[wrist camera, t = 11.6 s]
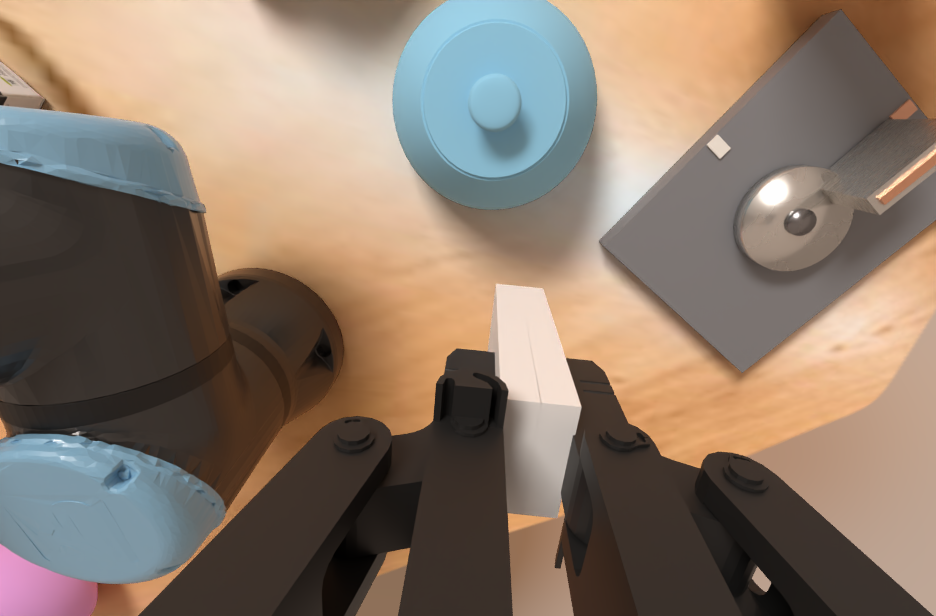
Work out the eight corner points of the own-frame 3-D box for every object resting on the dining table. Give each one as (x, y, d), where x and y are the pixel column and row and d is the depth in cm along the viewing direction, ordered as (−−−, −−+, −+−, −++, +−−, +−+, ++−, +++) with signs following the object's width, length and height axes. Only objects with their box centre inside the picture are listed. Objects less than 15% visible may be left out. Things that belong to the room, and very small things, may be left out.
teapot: (161, 581, 59) (84, 689, 48) (109, 631, 63) (27, 742, 52) (13, 492, 54) (-111, 589, 43) (-33, 552, 59) (-157, 655, 47)
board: (731, 362, 44) (743, 374, 42) (598, 240, 40) (604, 247, 38) (955, 181, 37) (982, 185, 35) (821, 15, 34) (843, 8, 32)
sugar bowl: (423, 219, 41) (400, 254, 30) (378, 24, 35) (328, -19, 24) (597, 185, 39) (639, 208, 28) (577, -25, 33) (618, -95, 23)
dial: (772, 284, 39) (821, 313, 33) (712, 220, 37) (753, 238, 32) (921, 165, 35) (1006, 173, 29) (862, 87, 33) (940, 79, 28)
